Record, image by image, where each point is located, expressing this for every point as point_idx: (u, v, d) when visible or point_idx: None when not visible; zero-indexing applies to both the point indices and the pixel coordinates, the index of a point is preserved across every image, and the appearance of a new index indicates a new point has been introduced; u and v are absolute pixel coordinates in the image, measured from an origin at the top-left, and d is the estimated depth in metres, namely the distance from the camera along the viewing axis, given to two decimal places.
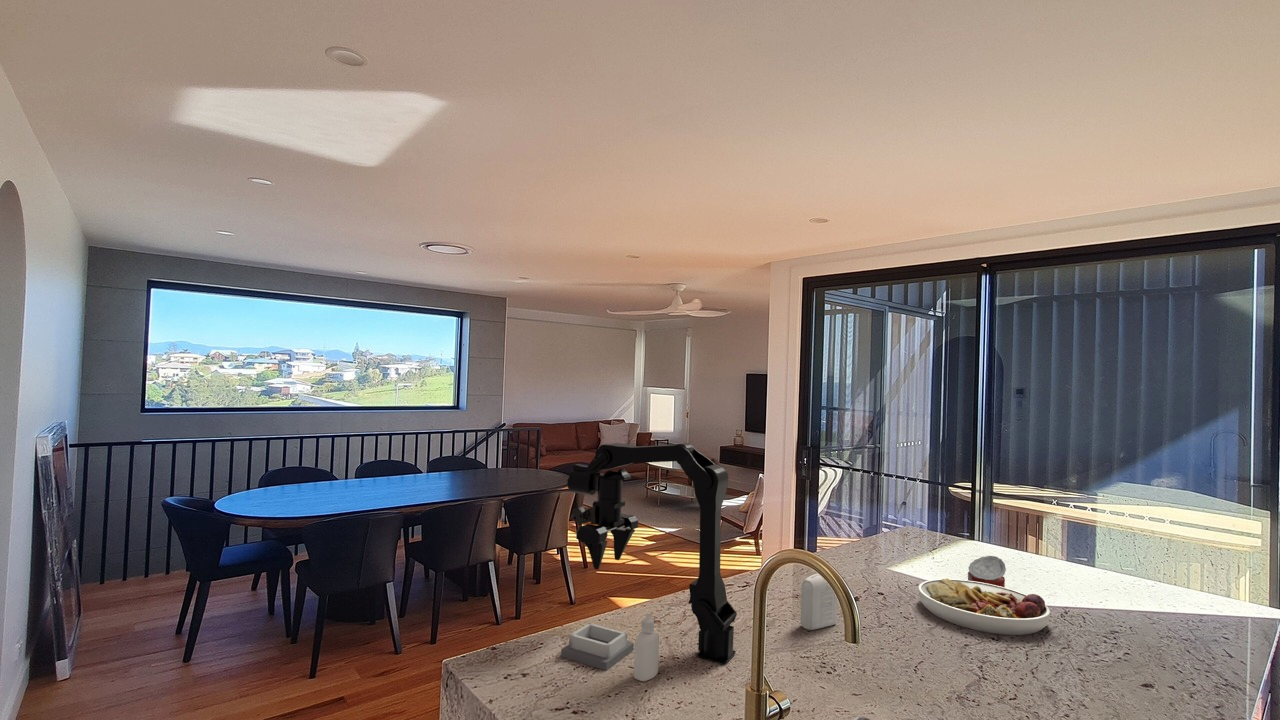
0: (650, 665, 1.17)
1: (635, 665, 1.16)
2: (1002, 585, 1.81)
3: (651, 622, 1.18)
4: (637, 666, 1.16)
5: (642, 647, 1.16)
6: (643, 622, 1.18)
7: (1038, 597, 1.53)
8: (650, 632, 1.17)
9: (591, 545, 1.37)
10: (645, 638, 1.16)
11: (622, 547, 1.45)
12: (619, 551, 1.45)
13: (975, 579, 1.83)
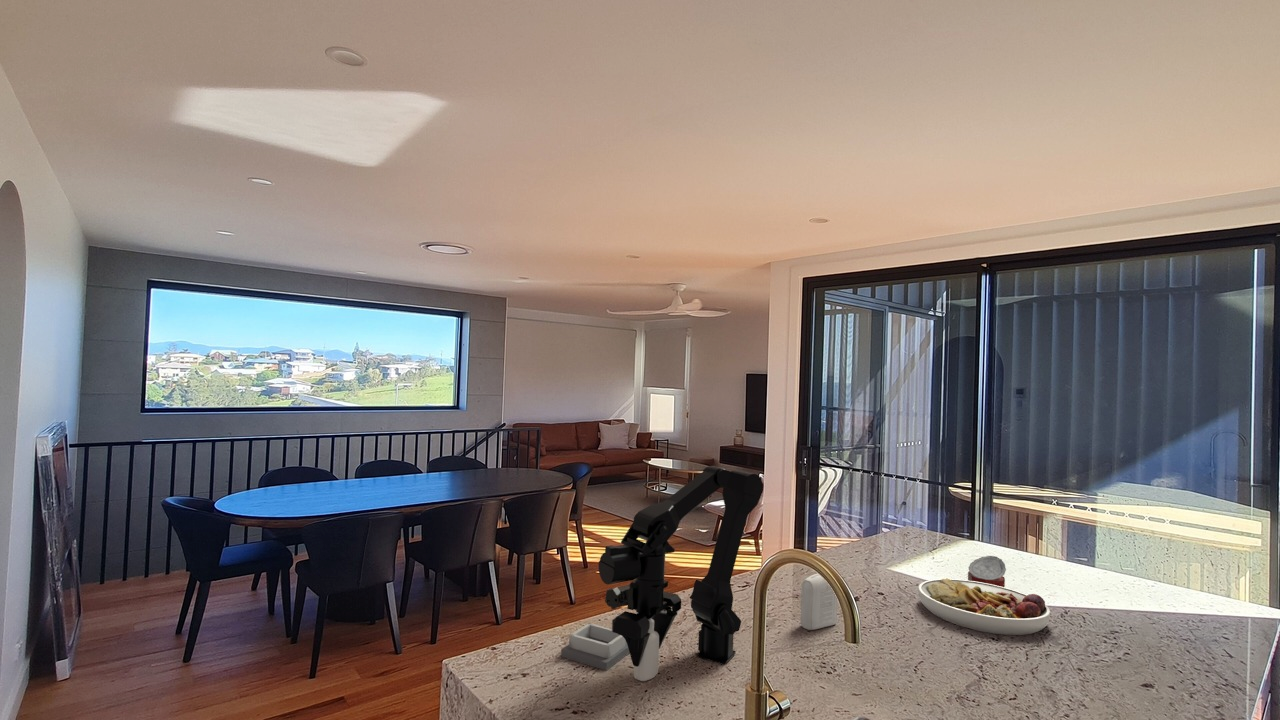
0: (650, 665, 1.17)
1: None
2: (1002, 585, 1.81)
3: (651, 622, 1.18)
4: None
5: None
6: None
7: (1038, 597, 1.53)
8: (650, 632, 1.17)
9: (630, 637, 1.14)
10: None
11: (663, 634, 1.22)
12: (659, 639, 1.22)
13: (975, 579, 1.83)
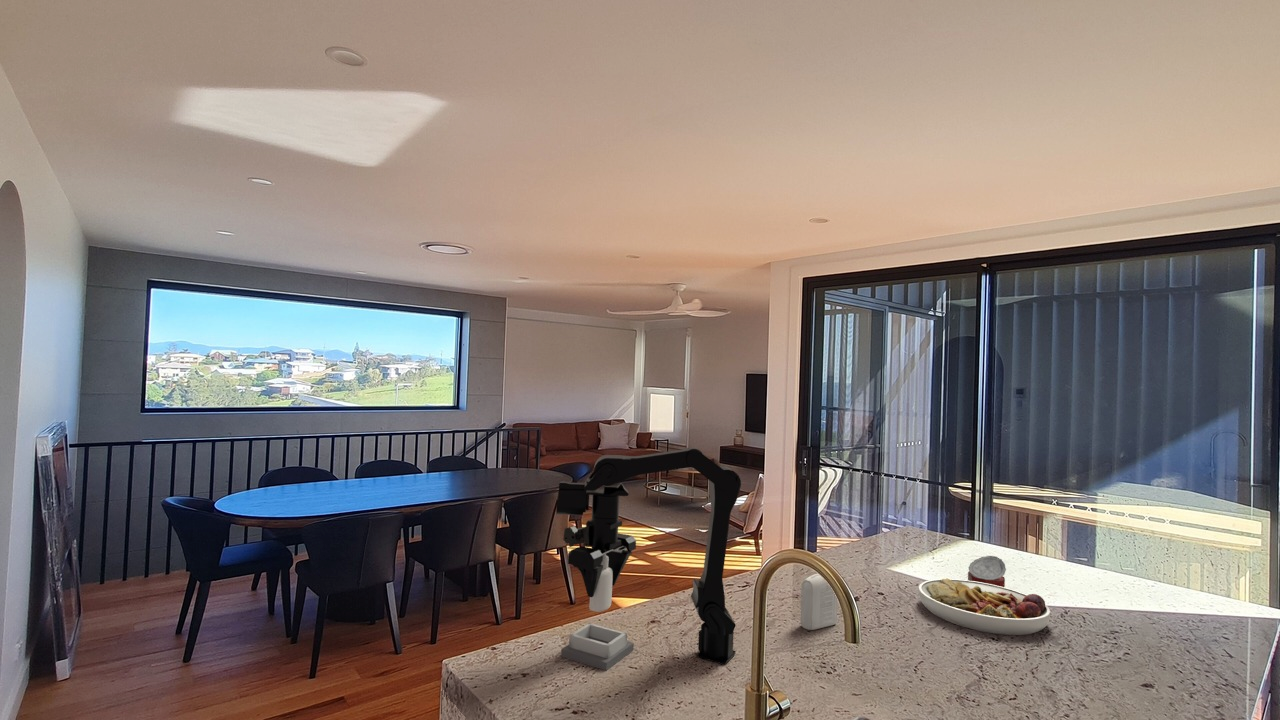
0: (605, 597, 1.25)
1: (591, 597, 1.25)
2: (1002, 585, 1.81)
3: (606, 558, 1.26)
4: (592, 598, 1.25)
5: None
6: None
7: (1038, 597, 1.53)
8: (605, 567, 1.26)
9: (585, 570, 1.23)
10: None
11: (618, 571, 1.30)
12: (614, 576, 1.31)
13: (975, 579, 1.83)
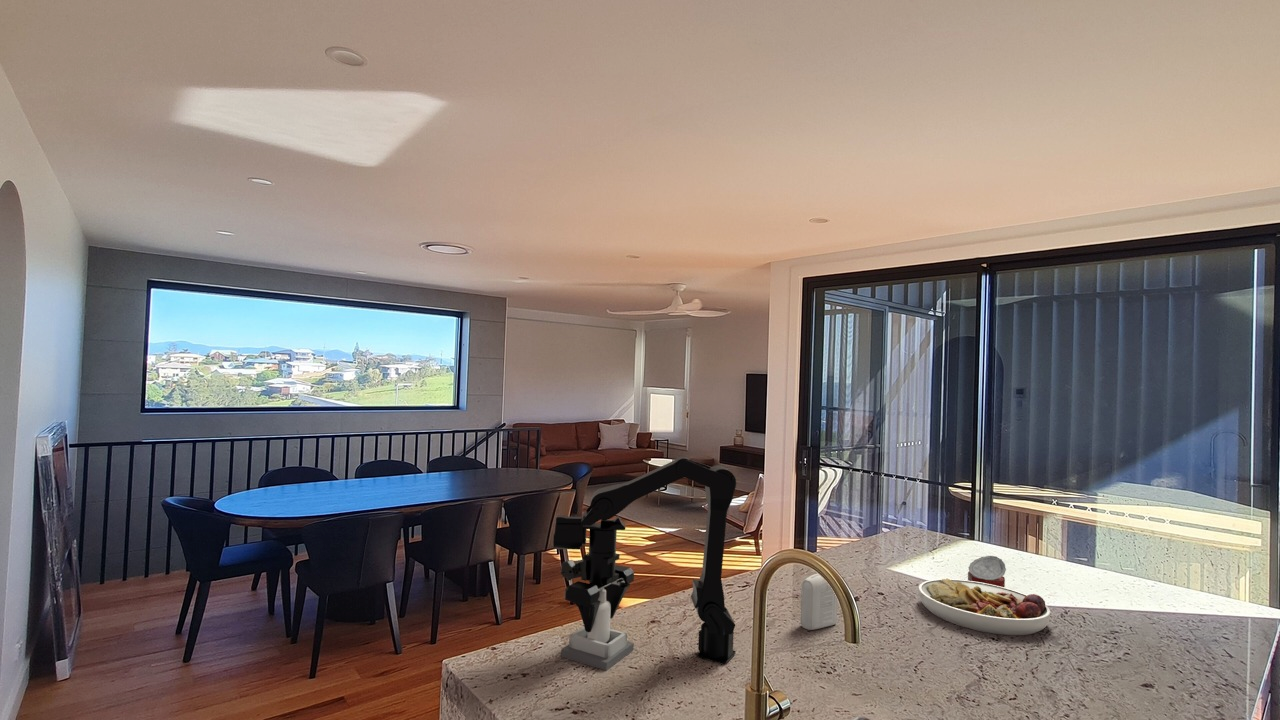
0: (603, 631, 1.26)
1: (589, 632, 1.25)
2: (1002, 585, 1.81)
3: (603, 592, 1.27)
4: (590, 632, 1.25)
5: None
6: None
7: (1038, 597, 1.53)
8: (602, 601, 1.26)
9: (582, 605, 1.23)
10: None
11: (616, 604, 1.30)
12: (612, 609, 1.31)
13: (975, 579, 1.83)
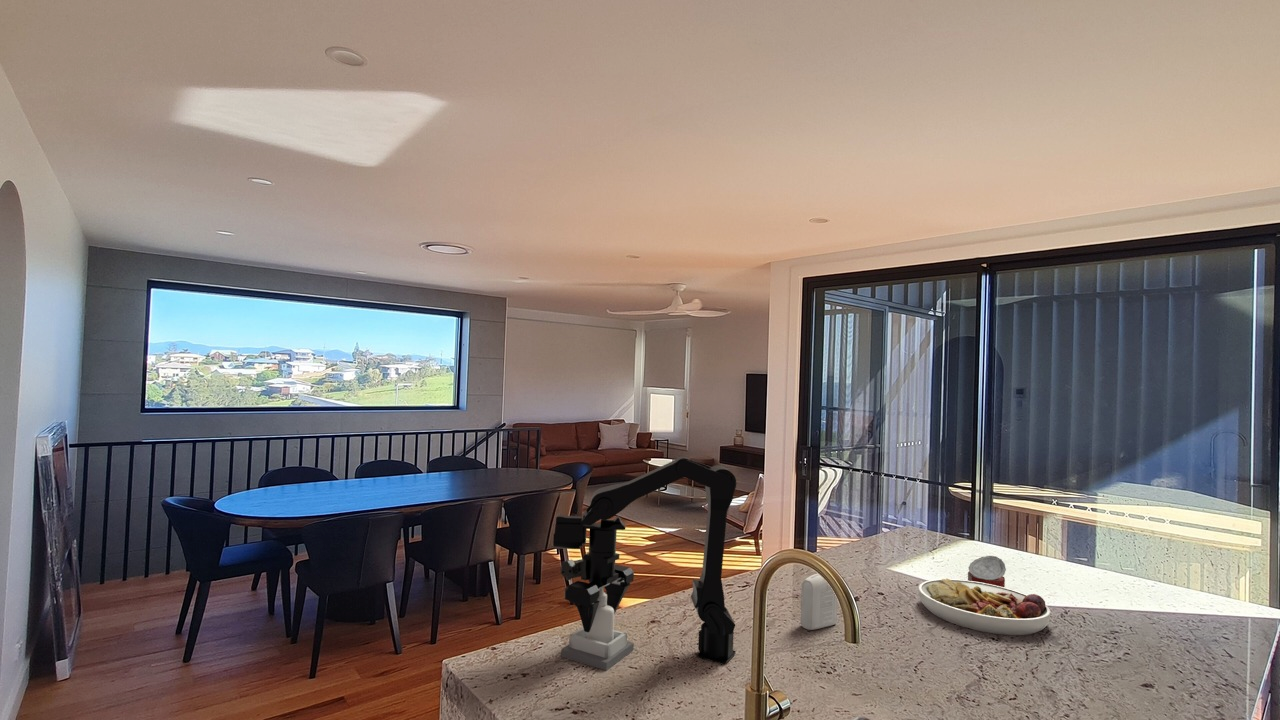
0: (595, 635, 1.26)
1: None
2: (1002, 585, 1.81)
3: (599, 596, 1.27)
4: None
5: None
6: None
7: (1038, 597, 1.53)
8: (598, 605, 1.26)
9: (581, 605, 1.22)
10: None
11: (616, 603, 1.31)
12: (613, 608, 1.31)
13: (975, 579, 1.83)
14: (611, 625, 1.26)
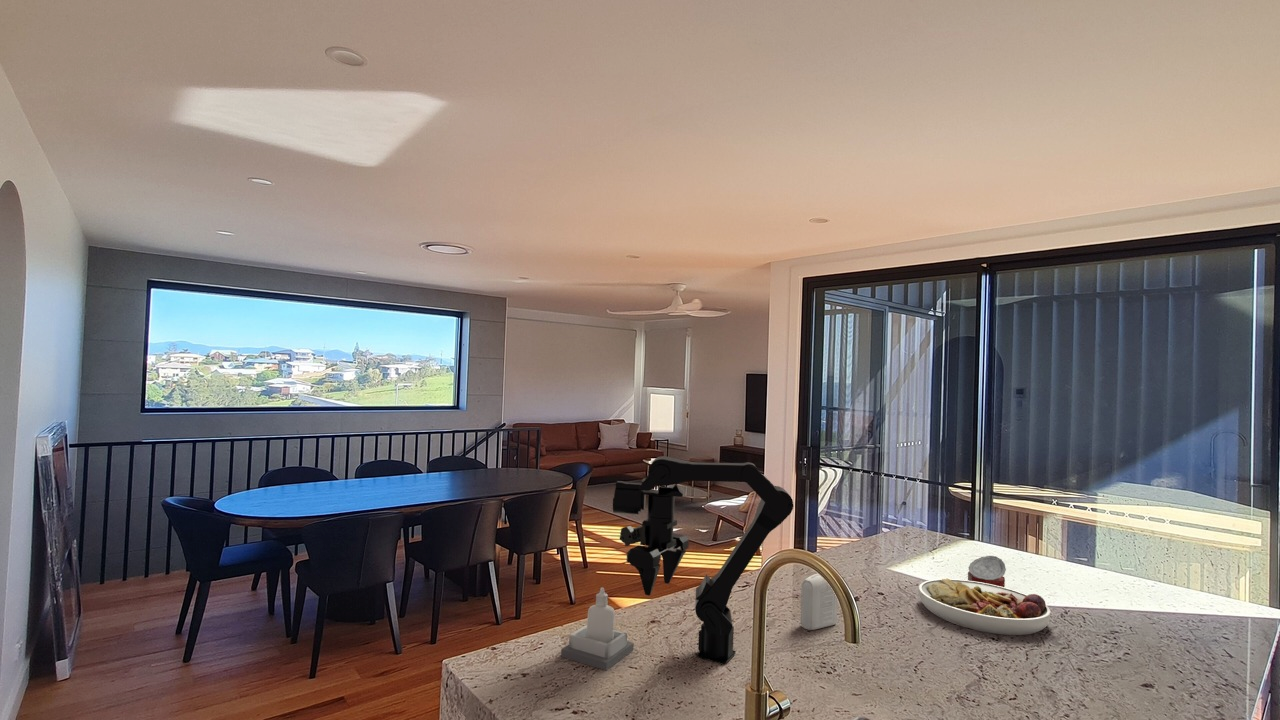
0: (595, 635, 1.26)
1: None
2: (1002, 585, 1.81)
3: (599, 596, 1.26)
4: None
5: None
6: None
7: (1039, 597, 1.53)
8: (598, 605, 1.26)
9: (642, 569, 1.25)
10: (592, 608, 1.27)
11: (673, 569, 1.34)
12: (669, 574, 1.34)
13: (975, 579, 1.83)
14: (611, 625, 1.26)
